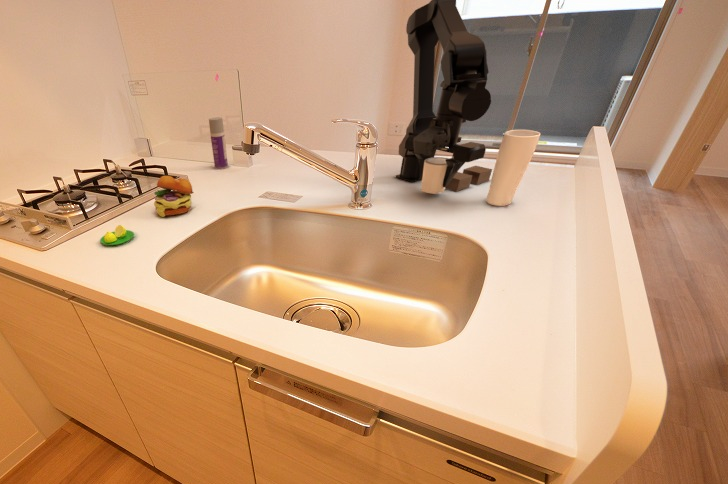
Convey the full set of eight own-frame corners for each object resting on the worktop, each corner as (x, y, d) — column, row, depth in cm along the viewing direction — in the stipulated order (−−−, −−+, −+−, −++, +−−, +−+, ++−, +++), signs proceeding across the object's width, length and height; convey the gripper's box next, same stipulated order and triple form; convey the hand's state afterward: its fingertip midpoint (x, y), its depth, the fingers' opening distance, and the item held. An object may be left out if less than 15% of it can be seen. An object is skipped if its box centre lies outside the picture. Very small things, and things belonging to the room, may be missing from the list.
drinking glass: (518, 208, 85) (546, 135, 75) (486, 208, 86) (510, 137, 76) (508, 197, 90) (534, 128, 80) (478, 197, 91) (500, 130, 81)
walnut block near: (440, 187, 99) (443, 175, 97) (453, 182, 100) (456, 171, 98) (456, 191, 95) (459, 179, 93) (469, 187, 97) (472, 175, 95)
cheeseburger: (146, 214, 99) (143, 174, 94) (176, 210, 106) (174, 173, 102) (171, 220, 94) (169, 178, 89) (200, 216, 101) (200, 177, 96)
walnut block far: (460, 180, 101) (463, 169, 99) (472, 176, 103) (475, 165, 101) (476, 184, 98) (480, 173, 96) (488, 180, 100) (492, 169, 98)
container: (213, 169, 128) (206, 120, 118) (216, 165, 131) (210, 117, 122) (226, 168, 127) (220, 119, 117) (229, 165, 130) (223, 116, 121)
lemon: (118, 230, 92) (115, 219, 90) (141, 235, 88) (138, 224, 87) (94, 243, 87) (89, 232, 85) (117, 249, 83) (113, 237, 82)
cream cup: (449, 186, 95) (457, 157, 90) (443, 195, 90) (451, 165, 86) (421, 184, 98) (428, 155, 93) (415, 192, 93) (421, 163, 89)
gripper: (393, 114, 87) (383, 182, 97) (462, 124, 74) (442, 201, 84) (426, 106, 90) (413, 173, 100) (498, 115, 78) (474, 190, 88)
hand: (433, 183), depth 93 cm, fingers closed on cream cup, 6 cm apart
